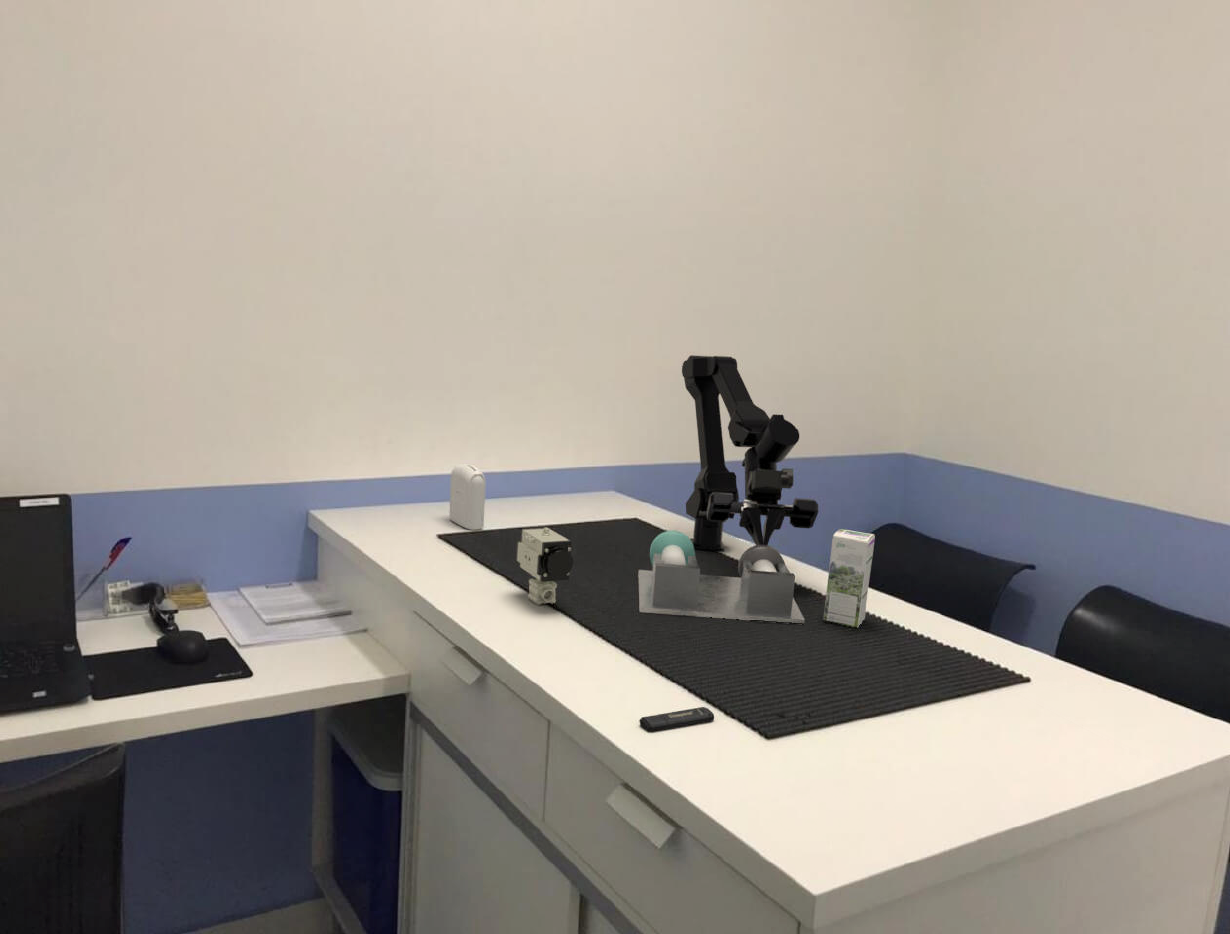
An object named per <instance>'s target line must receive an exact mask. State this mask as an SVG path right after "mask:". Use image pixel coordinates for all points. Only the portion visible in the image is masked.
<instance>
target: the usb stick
mask: <svg viewBox="0 0 1230 934" xmlns="http://www.w3.org/2000/svg"><path fill="white" fill-rule="evenodd" d="M714 720H715V715H714V712H713V711H712V710H710V709H709V708H708V707H705V706H701V707H696V708H690V709H688V708H687V709H683V710H677V711H672V712H665V713H659V714H655V715H654V714H653V715H649V716H643V717H641V718H640V719H639V721H638V722H639V726H640V727H641V728H642V729H644V730H645V731H646V732H648V733H655V732H660V731H666V730H672V729H677V728H683V727H688V726H694V725H701V724H706V723H711V722H713V721H714Z"/></svg>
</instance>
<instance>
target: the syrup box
mask: <svg viewBox="0 0 1230 934" xmlns="http://www.w3.org/2000/svg"><path fill="white" fill-rule="evenodd" d="M875 538H876V537H875V534H874V533H867V532H861V531H856V530H849V529H843V528H839V529H838V530H837V531H835V533H834V534H833V535H832V540H831V549H830V550H831V551H830V558H829V568H828V577H827V586H826V595H825V603H824V610H823V611H824V612H823V620H826V621H830V622H833V623H832V624H835V623H838V624H837V625H839V624H841V625H840V626H844V625H846V626H845V627H849V626H851V627H850V628H854V627H857V628H856V629H858V628H859V627H860V626H861V625H862V624H863V622H864V621H865V618H866V612H867V611H866V610H867V601H868V592H869V585H870V584H869V583H870V577H871V571H872V564H873V563H872V562H873V557H874V556H873V554H874V546H875ZM863 620H864V621H863ZM862 621H863V622H862ZM830 622H829V623H830ZM860 624H861V625H860ZM859 625H860V626H859Z"/></svg>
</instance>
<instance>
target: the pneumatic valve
mask: <svg viewBox="0 0 1230 934" xmlns="http://www.w3.org/2000/svg"><path fill="white" fill-rule="evenodd" d="M515 547H516V549H515V560H516V561H517V562H518V567H519V568H521V570H522V569H523V571H525V572H527V573H528V574H529V575H530V576H532V577H534V578H532V577H531V578H529V580H528V584H529V585H528V589H529V590H528V592H529V593H528V595H527V598H528V599H529V600H530V601H532V602H533V603H534V604H535V605H537V606H540V605H542V604H549V603H550V604H551V605H553V603H554V604H555V603H556V599H557V598H556V596H557V594H556V588H557V586H558V584H557V583H556V582H559V581H569V580H570V572H571V571H572V570H573V567H574V566H573V565H574V558H573V555H572V541H571V540H570V539H567V538H566V537H564V536H563V535H561V534H559V533H557V532H556V531H553V530H552V529H550V528H549V527H537V528H536V527H533V528H521V529H520V537H519V540H516V546H515Z"/></svg>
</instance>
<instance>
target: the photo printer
mask: <svg viewBox="0 0 1230 934" xmlns="http://www.w3.org/2000/svg"><path fill="white" fill-rule="evenodd" d="M486 484H487V483H486V478H485V475H484V474H483V472H482V471H481V469H479V468H478V467H476V466H475V465H473V464H470V463H465V464H464V463H459V464H457V465H456V466H454V467H453V468H452V470H451V473H450V490H449V491H450V492H449V495H450V496H449V520H450V521H452V522H454V523H455V524H457V525H459V526H461V527H463V528H465V529H466V530H467V529H468V530H470V531H471V530H472V531H478V530H481V529H482V528H483V527H484V524H485V523H484V522H485V503H486Z"/></svg>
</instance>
